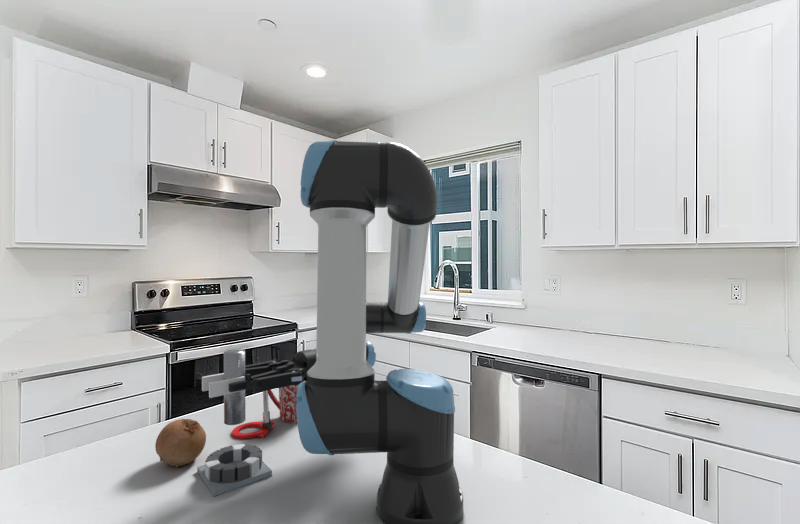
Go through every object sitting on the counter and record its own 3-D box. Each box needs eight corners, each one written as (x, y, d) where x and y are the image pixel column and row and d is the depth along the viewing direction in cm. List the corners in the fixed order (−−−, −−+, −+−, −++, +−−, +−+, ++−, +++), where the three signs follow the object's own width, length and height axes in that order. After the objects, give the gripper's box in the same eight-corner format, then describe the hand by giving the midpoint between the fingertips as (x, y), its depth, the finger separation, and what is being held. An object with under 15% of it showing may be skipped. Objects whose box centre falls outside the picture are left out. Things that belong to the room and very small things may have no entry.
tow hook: (225, 440, 98) (263, 440, 97) (223, 387, 98) (261, 386, 97) (241, 426, 106) (276, 425, 106) (238, 376, 106) (274, 375, 106)
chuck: (272, 475, 82) (272, 458, 82) (213, 496, 75) (213, 477, 74) (251, 454, 90) (251, 438, 90) (197, 471, 83) (197, 454, 83)
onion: (200, 473, 88) (222, 432, 88) (156, 481, 80) (179, 436, 80) (182, 445, 93) (202, 406, 93) (140, 450, 86) (161, 407, 86)
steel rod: (248, 421, 82) (248, 352, 82) (227, 426, 80) (227, 355, 79) (241, 415, 85) (241, 348, 85) (221, 420, 83) (220, 351, 82)
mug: (316, 412, 115) (316, 364, 114) (303, 425, 106) (303, 373, 105) (274, 408, 117) (274, 361, 116) (258, 421, 108) (258, 370, 108)
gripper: (334, 391, 88) (219, 420, 72) (297, 373, 100) (194, 394, 85) (334, 356, 87) (219, 378, 72) (297, 342, 100) (193, 358, 85)
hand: (206, 387), depth 79 cm, fingers closed on steel rod, 4 cm apart
